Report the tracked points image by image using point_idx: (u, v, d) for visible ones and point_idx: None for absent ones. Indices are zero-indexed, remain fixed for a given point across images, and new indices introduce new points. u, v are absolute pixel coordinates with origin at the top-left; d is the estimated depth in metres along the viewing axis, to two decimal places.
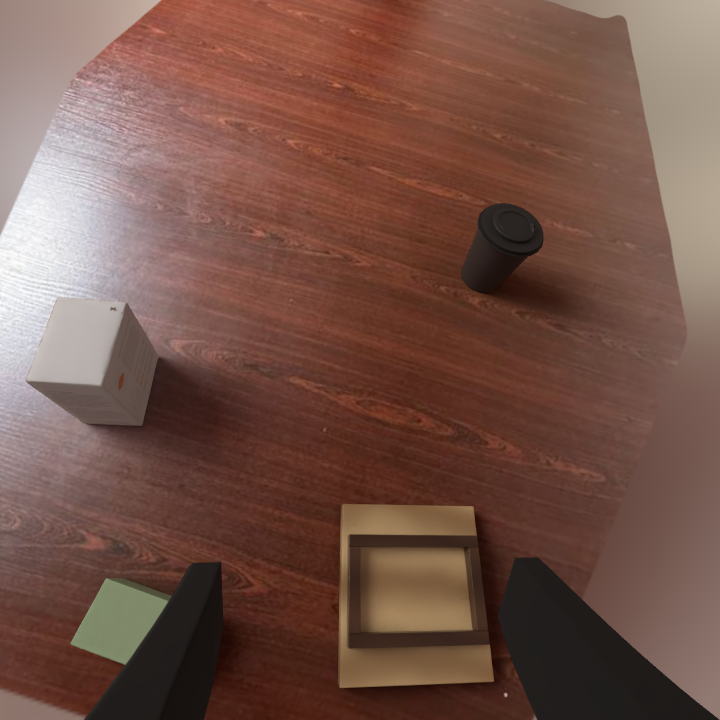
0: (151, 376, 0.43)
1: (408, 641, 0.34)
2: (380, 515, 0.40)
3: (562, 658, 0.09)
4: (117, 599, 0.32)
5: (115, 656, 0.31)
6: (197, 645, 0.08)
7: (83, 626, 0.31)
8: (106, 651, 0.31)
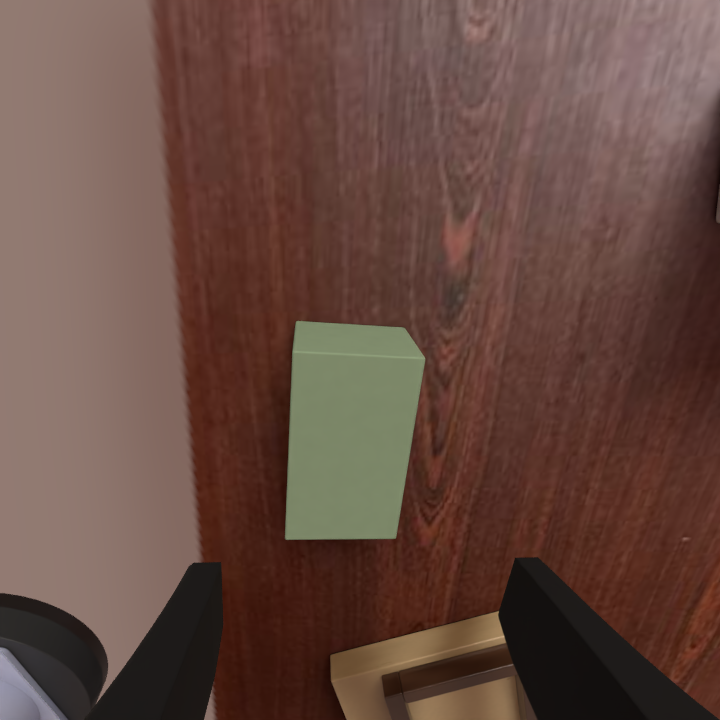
0: None
1: None
2: None
3: (562, 658, 0.09)
4: (390, 399, 0.15)
5: (295, 440, 0.15)
6: (197, 645, 0.08)
7: (329, 360, 0.14)
8: (299, 422, 0.15)
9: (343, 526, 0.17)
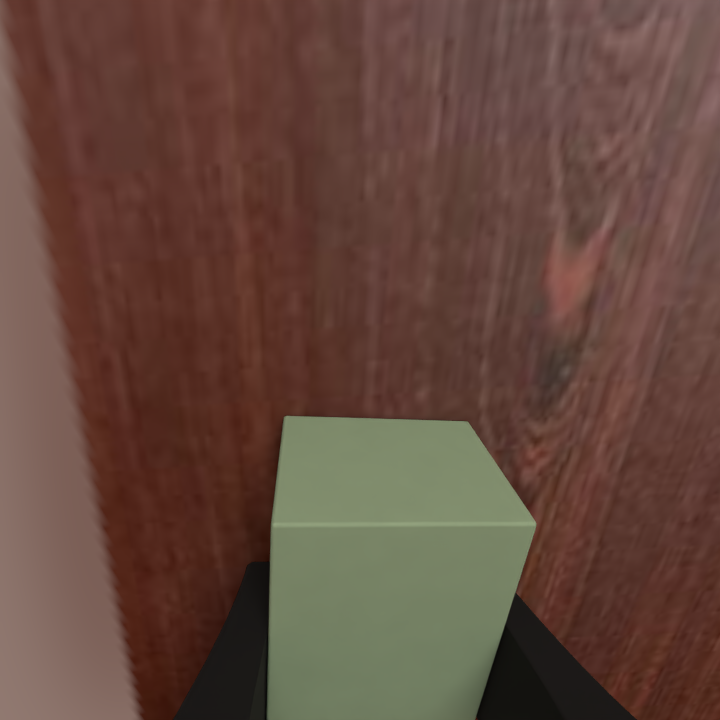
0: None
1: None
2: None
3: (499, 661, 0.08)
4: (463, 593, 0.08)
5: (281, 667, 0.08)
6: (267, 642, 0.08)
7: (348, 537, 0.07)
8: (287, 639, 0.08)
9: None
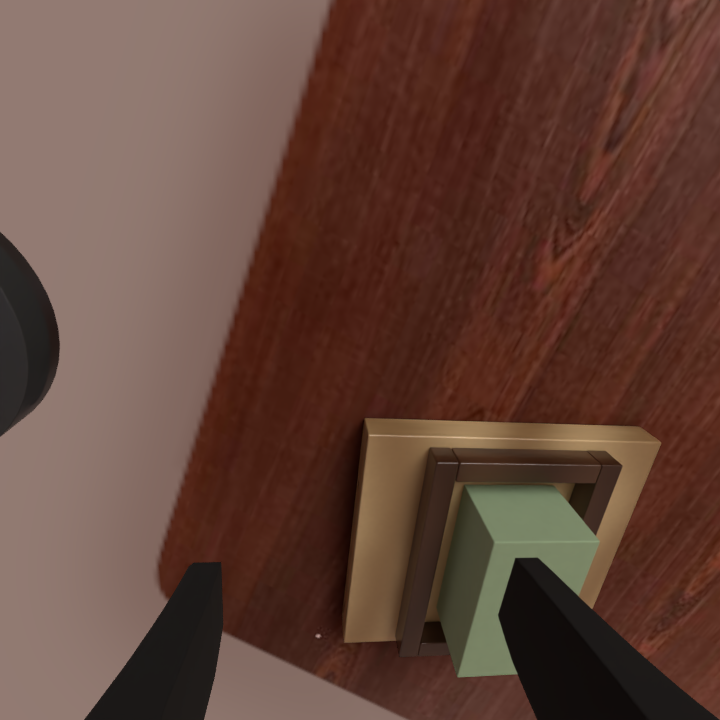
0: None
1: (427, 554, 0.19)
2: (619, 504, 0.21)
3: (562, 658, 0.09)
4: (565, 571, 0.17)
5: (482, 605, 0.17)
6: (197, 645, 0.08)
7: (523, 547, 0.16)
8: (488, 592, 0.17)
9: (507, 665, 0.19)
